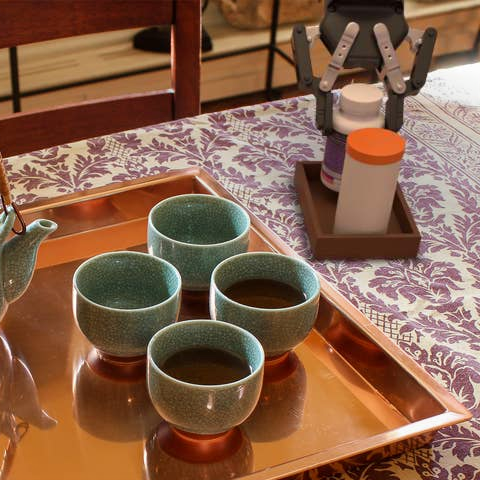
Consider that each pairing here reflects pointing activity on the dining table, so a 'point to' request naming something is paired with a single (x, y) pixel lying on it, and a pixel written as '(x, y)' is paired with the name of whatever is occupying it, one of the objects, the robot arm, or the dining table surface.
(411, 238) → the tray
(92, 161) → the dining table surface
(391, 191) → the orange-capped white bottle
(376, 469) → the dining table surface
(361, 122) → the pill bottle
